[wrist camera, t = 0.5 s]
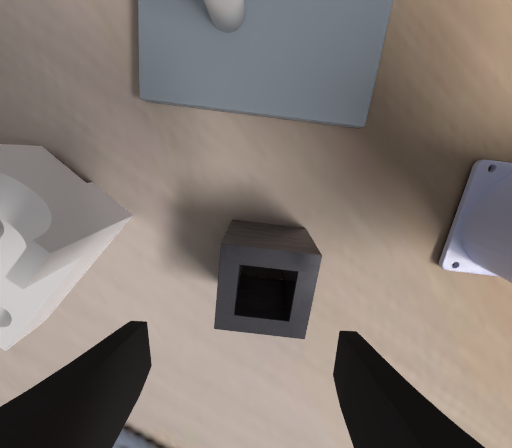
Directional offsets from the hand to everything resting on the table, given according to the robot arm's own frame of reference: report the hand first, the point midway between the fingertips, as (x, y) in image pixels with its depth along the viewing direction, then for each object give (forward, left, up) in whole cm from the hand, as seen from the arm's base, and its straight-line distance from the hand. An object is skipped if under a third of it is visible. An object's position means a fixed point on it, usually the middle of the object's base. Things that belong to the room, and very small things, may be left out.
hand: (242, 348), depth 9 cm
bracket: (+16, +2, -10) cm, 19 cm away
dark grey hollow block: (-1, +1, -10) cm, 10 cm away
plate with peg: (+1, -14, -10) cm, 17 cm away
